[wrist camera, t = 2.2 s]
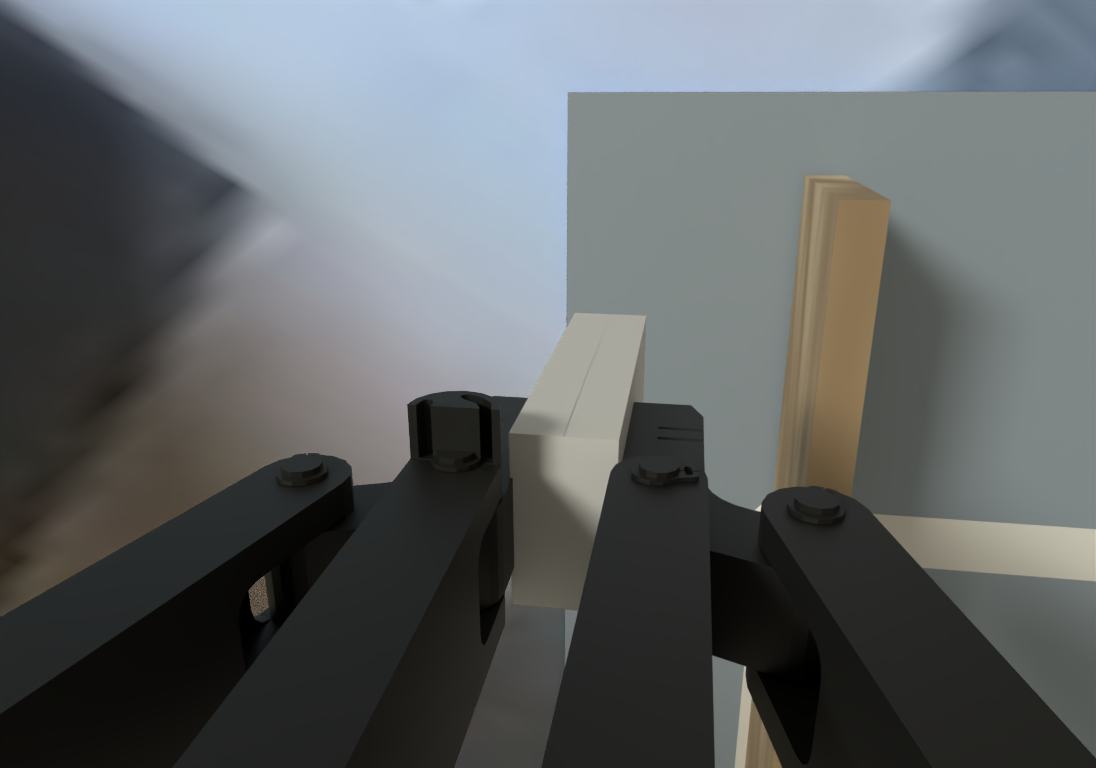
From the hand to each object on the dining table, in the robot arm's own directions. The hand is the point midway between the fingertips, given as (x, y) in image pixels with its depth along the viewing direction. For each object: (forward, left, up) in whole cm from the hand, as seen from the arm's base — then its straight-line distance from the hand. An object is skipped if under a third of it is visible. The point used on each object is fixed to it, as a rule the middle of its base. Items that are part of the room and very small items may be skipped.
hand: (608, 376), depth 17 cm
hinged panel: (+6, -3, -10) cm, 12 cm away
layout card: (+9, -10, -11) cm, 17 cm away
